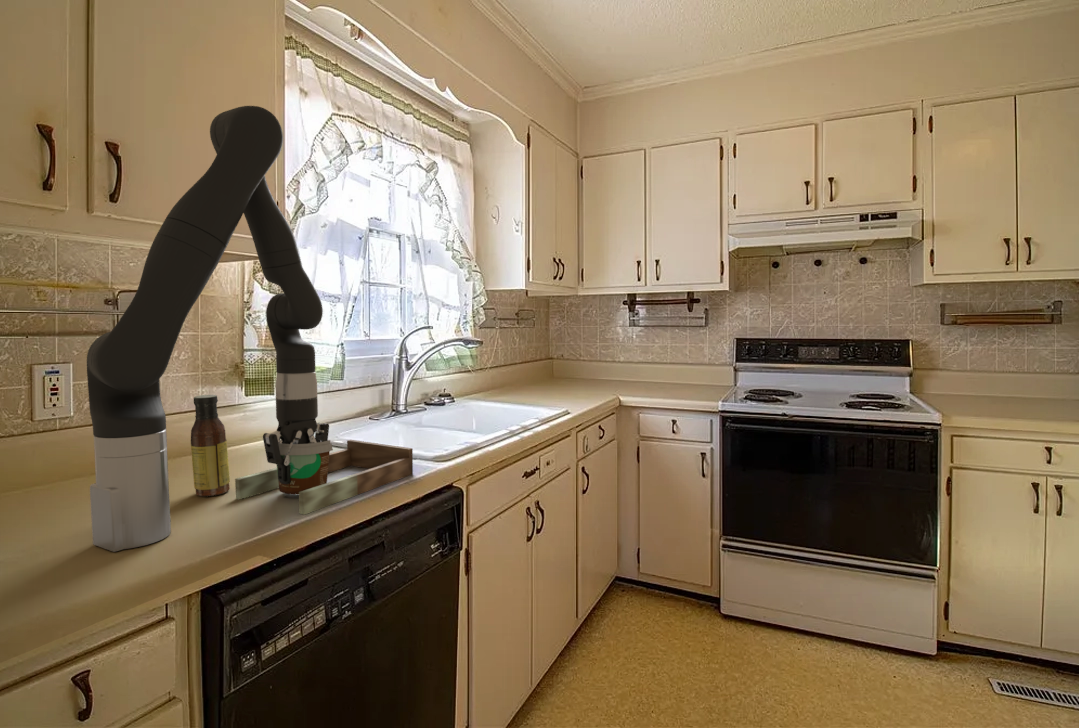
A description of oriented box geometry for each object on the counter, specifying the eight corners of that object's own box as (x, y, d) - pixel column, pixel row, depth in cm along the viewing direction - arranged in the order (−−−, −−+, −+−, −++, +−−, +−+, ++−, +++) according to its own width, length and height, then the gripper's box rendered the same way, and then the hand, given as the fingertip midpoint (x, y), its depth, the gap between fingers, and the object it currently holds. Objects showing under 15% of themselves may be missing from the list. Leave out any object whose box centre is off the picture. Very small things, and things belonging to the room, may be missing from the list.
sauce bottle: (222, 486, 116) (219, 392, 114) (235, 492, 112) (232, 395, 110) (187, 493, 111) (183, 395, 109) (199, 500, 107) (195, 398, 105)
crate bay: (303, 514, 99) (303, 482, 99) (235, 498, 108) (234, 468, 107) (412, 474, 126) (412, 448, 126) (351, 463, 134) (350, 439, 134)
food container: (257, 493, 107) (256, 442, 106) (278, 485, 113) (277, 436, 112) (315, 498, 105) (314, 446, 104) (333, 489, 111) (332, 440, 110)
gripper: (277, 401, 100) (280, 492, 101) (339, 392, 113) (340, 473, 114) (250, 398, 103) (253, 486, 105) (313, 390, 116) (314, 468, 118)
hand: (298, 479), depth 109 cm, fingers closed on food container, 5 cm apart
